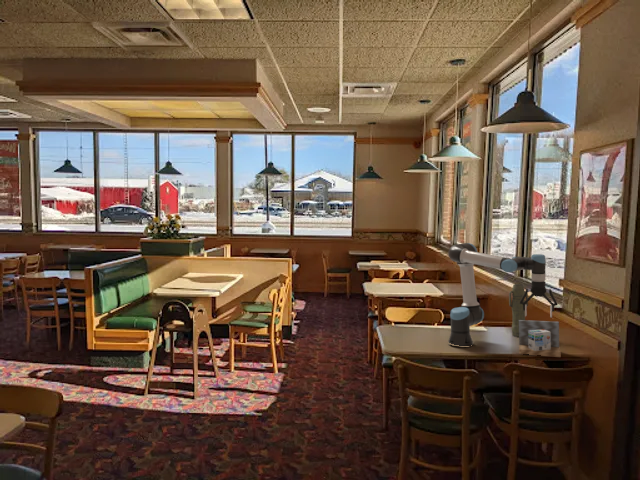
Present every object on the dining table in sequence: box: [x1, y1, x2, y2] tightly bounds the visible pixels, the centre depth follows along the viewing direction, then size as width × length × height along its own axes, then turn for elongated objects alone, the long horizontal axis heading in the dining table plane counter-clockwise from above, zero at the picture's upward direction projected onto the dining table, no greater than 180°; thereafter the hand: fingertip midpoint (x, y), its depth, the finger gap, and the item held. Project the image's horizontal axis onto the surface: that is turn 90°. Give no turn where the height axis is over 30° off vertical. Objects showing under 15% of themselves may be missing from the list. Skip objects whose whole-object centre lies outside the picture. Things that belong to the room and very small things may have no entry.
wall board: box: [518, 319, 562, 358], centre depth 285 cm, size 22×12×18 cm, turn 68°
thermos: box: [508, 283, 529, 338], centre depth 324 cm, size 9×12×35 cm
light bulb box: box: [528, 329, 551, 351], centre depth 283 cm, size 11×7×11 cm, turn 101°
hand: (538, 316), depth 282 cm, fingers open, 13 cm apart
